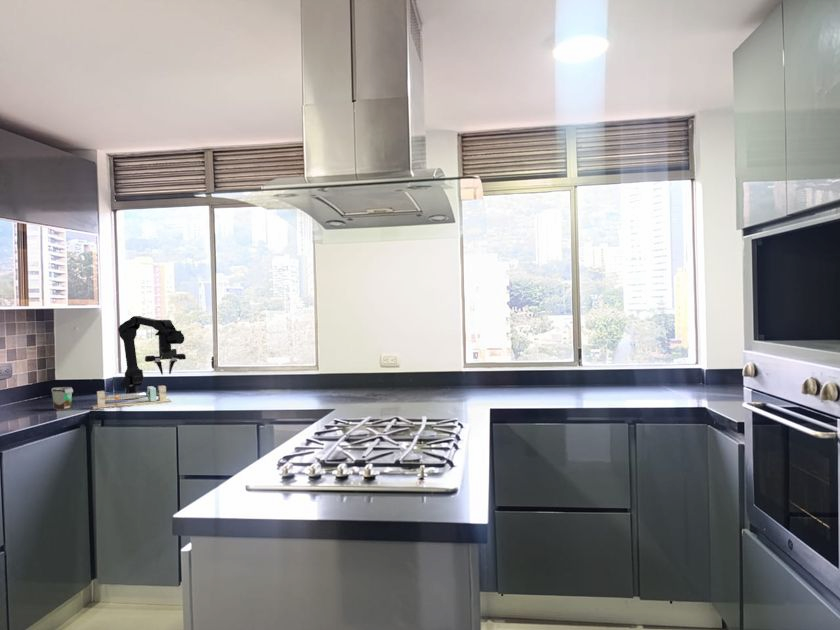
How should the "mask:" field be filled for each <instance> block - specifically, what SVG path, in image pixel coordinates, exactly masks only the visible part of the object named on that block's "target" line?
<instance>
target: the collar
mask: <svg viewBox="0 0 840 630" xmlns="http://www.w3.org/2000/svg"><path fill="white" fill-rule="evenodd" d="M146 390H147V391H146V392H150V397H147V400H150V401H156V399H157V396H156V391H157V388H156V387H154V385H153V386H152V385H151V386H146Z"/></svg>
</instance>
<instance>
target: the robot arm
mask: <svg viewBox="0 0 840 630" xmlns="http://www.w3.org/2000/svg"><path fill="white" fill-rule="evenodd" d="M141 326H146V327H150V328H153V329H154V330H155V331H157V332H156V333H155V334H154V336H158V355H157V356H155V355H145V357H144V362H147V363H149V362H153V363H154V364H156V365H157V367H158V369H159V371H160V372H159V373H160V374H161V375H162V376H163V375H164V373H163V372H164V371H163V367H162V360H169V365H168V374H169V375H171V374H172V371H173V367H174V365H175V363H176V362H178V360H187V359H186V358H187V357H186V354H185V353H177V349H176V348H173V349H172V345H182V344H183V343H184V341H185V336H184V333H182V330H177V329H176V327H175V326H174V323H173V322H172V320H171V319H154V318H149V317H144V316H141V315H133V316H131V318H129V319H127V320H126V321H124V322H123V323H121V324H119V327H118V335H119V338H121V340H122V341H123V345H124V346H123V347H124V353H125V362H126V370H125V373H124V379H123V380H122V381H121V383H120V386H121V388H122V389H124V390H125V391H124V392H125V394H130V393H139V392H138V387H142V382H143V380H144V377H145V376H144V374H143V373H144V371H143V369H140V367H139V366H138V359H137V352H136V351H137V350H136V344H135V338H136V337H137V331H138V329H140V327H141ZM136 399H138V398H134V399H133V400H136ZM124 400H128V399H124Z"/></svg>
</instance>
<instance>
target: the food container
mask: <svg viewBox="0 0 840 630" xmlns="http://www.w3.org/2000/svg"><path fill="white" fill-rule="evenodd" d="M73 393H74V389H73V388H72V386H60V387H59V386H58V387H52V388H51V394H52V404H53V405H52V406H53V410H57V411H58V410H59V411H60V410H61V411H67V410H71V409H72V398H73V397H72V396H73V395H72V394H73Z"/></svg>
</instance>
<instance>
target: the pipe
mask: <svg viewBox="0 0 840 630" xmlns="http://www.w3.org/2000/svg"><path fill="white" fill-rule="evenodd" d="M158 396H159V391H158V390H156V397H158ZM148 397H150V392H147V391H142V392H138V393H130V394H126V393H122V394H112V395H111V394H110V395H109V394H108V395H105V402H110V401H112V402H113V401H122V400H123V401H124V400H125V399H127V400H135V399H134V398H137V399H142V398H144V399H145V398H148ZM96 399H97V398H96ZM97 402H98V399H97V400H96V403H97Z"/></svg>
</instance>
